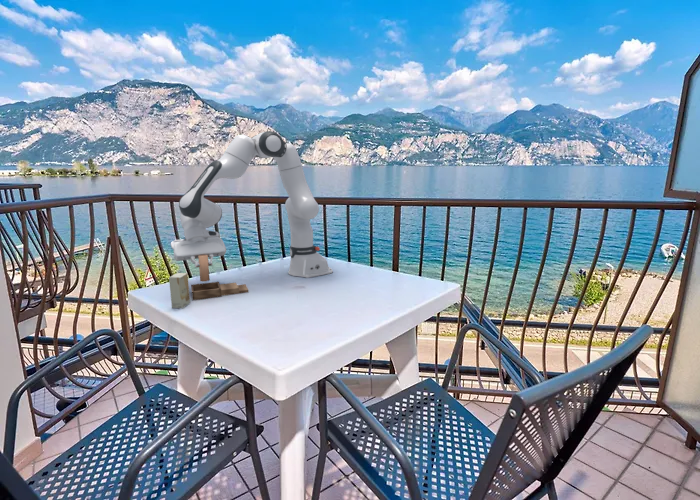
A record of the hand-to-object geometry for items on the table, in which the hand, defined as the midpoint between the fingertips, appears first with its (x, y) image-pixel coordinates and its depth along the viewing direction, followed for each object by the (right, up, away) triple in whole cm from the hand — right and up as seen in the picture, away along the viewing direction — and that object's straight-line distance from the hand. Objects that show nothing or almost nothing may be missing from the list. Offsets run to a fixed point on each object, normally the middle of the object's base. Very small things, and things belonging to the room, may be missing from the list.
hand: (204, 265), depth 143 cm
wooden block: (-1, -6, +2) cm, 6 cm away
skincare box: (-5, -15, -8) cm, 18 cm away
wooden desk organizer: (+5, -12, +6) cm, 14 cm away
